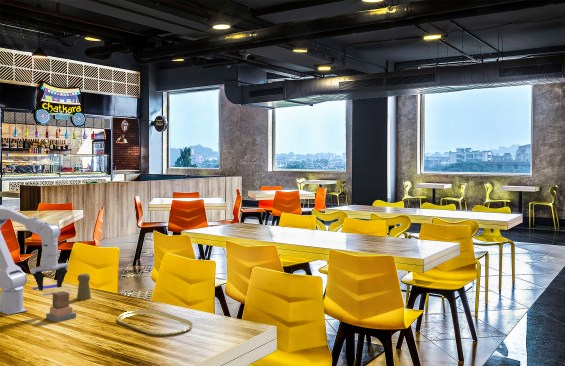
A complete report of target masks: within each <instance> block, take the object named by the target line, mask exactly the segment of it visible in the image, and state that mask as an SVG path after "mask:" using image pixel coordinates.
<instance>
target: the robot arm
mask: <svg viewBox="0 0 565 366" xmlns="http://www.w3.org/2000/svg"><path fill="white" fill-rule="evenodd" d="M8 220H11V221H13V222H15V223H17V224H20V225H24V228H25V229H26V230H27V231H29V232H32V233H33V234H36V235H38V237H39V238H40V240H41V250H42V252H41V263H42V264H41V265H39V266H36V267H31V268H30V274H31V275H32V276H33V278H34V280H35V282H36V284H37V287H38V289H39V290H38V291H40V292H41V291H44V289H43V286H44V277H45V274H44V272H50V271H55V275H56V284H57V287H56V288H62V285H63V282H64V280H65V279H64V278H65V276H66V274H67V273H68V269H69V263H67V262H65V263H59V262H58V260H59V253H58V251H59V248H58V246H59V245H58V244H59V240H58V239H59V237H60V236H61V233H62V232H61V228H60V227H59V225H58V224H56V223H50V222H49V221H44V220H42V219H40V217H39V216H31V217H28V216H27V215H25V214H23V213H21V212H20V211H17V210H16V209H14V208H13V207H12V206H9V205H7V204H0V289H1V290H2V291H1V292H0V313H3V314H5V315H8V316H9V315H15V314H19V313H23V312H27V311H28V309H27V308H24V288H25V286H26V284H27V282H28V276H27V274H26V273H25V272H24V271H23V270H22V268H21V267H20V266H19V265H17V264H16V263H15V262H14V259H13V257H12V255H11V252H10V249H9V248H8V245H7V243H6V240H5V238H4V236H3V233H2V230H1V229H2V226H3V225H4V224H5V223H6V222H7V221H8Z"/></svg>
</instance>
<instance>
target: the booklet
mask: <svg viewBox="0 0 565 366" xmlns="http://www.w3.org/2000/svg"><path fill="white" fill-rule="evenodd" d="M32 288H33V290H35V289H38V286H35V287H32ZM52 288H58V287H57V283H56V284H51V285H49V284H48V285H43V290H45V289H52ZM53 293H54V292H52V293H51V292H50V293H45V294H43V296H47V295H48V296H49V295H53Z"/></svg>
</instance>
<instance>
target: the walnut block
mask: <svg viewBox="0 0 565 366" xmlns="http://www.w3.org/2000/svg"><path fill="white" fill-rule="evenodd" d="M65 291H66V290H61V291H56V292H52V293H53V294H52V307H54V308H56V309H61V308H66V307H69V306H70V292H65Z"/></svg>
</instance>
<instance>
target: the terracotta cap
mask: <svg viewBox="0 0 565 366" xmlns="http://www.w3.org/2000/svg"><path fill="white" fill-rule="evenodd" d="M72 312H73V306H70V305H69V307H66V308H61V309H56V308H54V307H53V306H49V313H50V314H53V315H55V316H62V315H66V314H71V313H72Z"/></svg>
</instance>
